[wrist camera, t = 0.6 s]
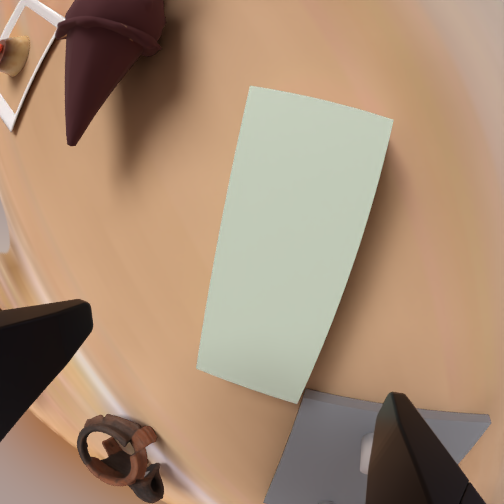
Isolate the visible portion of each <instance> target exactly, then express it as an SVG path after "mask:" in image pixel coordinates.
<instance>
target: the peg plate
mask: <svg viewBox="0 0 504 504" xmlns="http://www.w3.org/2000/svg"><path fill="white" fill-rule="evenodd" d="M382 405H383V404H381V403H375V402H369V401H363V400H358V399H353V398H347V397H342V396H337V395H332V394H328V393H323V392H318V391H314V390H310V389H306V390H305V393H304V396H303V399H302V402H301V405H300V407H299V410H298V413H297V416H296V419H295V422H294V425H293V427H292V430H291V433H290V436H289V438H288V441H287V444H286V446H285V449H284V452H283V454H282V457H281V459H280V462H279V465H278V467H277V470H276V472H275V475H274V477H273V480H272V482H271V484H270V487H269V489H268V492H267V494H266V496H265V499H264V502H263V503H266V504H365V501H366V489H367V475H368V466H369V460H370V455H371V449H372V443H373V436H374V430H375V423H376V418H377V415H378V412H379V411H380V409H381V407H382ZM417 411H418V412H419V413H420V414H421V416H422V417H423V418H424V420H425V421H426V422H427V424H428V425H429V426H430V428H431V429H432V430H433V432H434V433H435V434H436V436H437V437H438V439H439V440H440V441H441V443H442V444H443V445H444V447H445V448H446V449H447V451H448V452H449V453H450V455H451V456H452V458H453V459H454V460H455V462H456V463H457V464H459V462H460V461H461V460H462V459H463V458H464V457H465V455H466V454H467V453H468V452H469V451H470V450H471V448H472V447H473V446H474V445H475V443H476V442H477V441H478V440H479V438H480V437H481V436H482V435H483V433H484V432H485V431H486V429H487V428H488V427H489V425H490V424H491V420H490V417H489V415H486V414H468V413H455V412H443V411H433V410H424V409H417Z"/></svg>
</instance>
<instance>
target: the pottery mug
mask: <svg viewBox="0 0 504 504" xmlns="http://www.w3.org/2000/svg"><path fill="white" fill-rule="evenodd" d="M96 431H98V432H103V433H106V434H108V435H110V436H112V437H111V438H109V439H107V440H104V441H103V442H102V444H103V446H104V448H105V449H106V452H107V454H108V456H109V457H108V458H106V459H103V460H99V459H98V458H95V457H90V455H89V453H88V449H87V447H88V444H87V442H86V440H87V437H88V435H89V434H90V433H92V432H96ZM113 437H114V438H115V439H116V440H118V441H119V442H120V443H121V444H122V445H123V446H124V447H125V446H126V445H127V443H128V442H130V443H131V444H132V446H133V448H134V451H135V453H134V454H133V455H129V454H127V453H126V452H124V451H123V450H122V449H121V448H120V446H119V445H118V444H117V442H116V441H115V439H114V438H113ZM156 439H157V436H156V434H155V432H154V431H153V429H152V428H151V427H150V426H147V427H146V426H144V427H142V428H141V427H140V425H139V424H137V423H134V422H132V421H129V420H127V419H123V418H121V417H118V416H113V415H110V414H107V415H106V416H105V417H103V416H102V415H98V416H96V417H94V418H92V419H88V420H87V421H86V423H85V426H84V428H83V429H82V430H81V432H80V433H79V436H78V441H77V448H78V452H79V455H80V457H81V459H82V461H83V463H84V464H85V465H86V467H87V468H88V469H89V470H90V472H91V473H93V475H95V476H96V477H97V478H99V479H100V480H101V481H103V482H105V483H107V484H110V485H113V486H126V485H128V486H129V487H130V488H131V489H132V490H133V491H134V493H135V494H136V495H137V496H138V497H139V498H140V499H142V500H143V501H145V502H148V503H155V502H157V501H159V500H160V499H162V498H163V494H164V486H163V482H162V479H161V477H160V475H159V468H160V464H159V463H155V464H151V465H150V466H149V467H147V463H148V459H147V452H146V449H145V447H146V446H148V445H149V444H151V443H153V442H155V441H156Z"/></svg>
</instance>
